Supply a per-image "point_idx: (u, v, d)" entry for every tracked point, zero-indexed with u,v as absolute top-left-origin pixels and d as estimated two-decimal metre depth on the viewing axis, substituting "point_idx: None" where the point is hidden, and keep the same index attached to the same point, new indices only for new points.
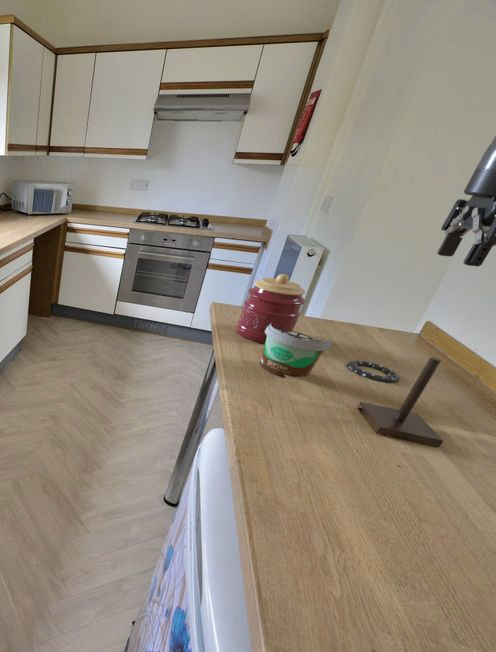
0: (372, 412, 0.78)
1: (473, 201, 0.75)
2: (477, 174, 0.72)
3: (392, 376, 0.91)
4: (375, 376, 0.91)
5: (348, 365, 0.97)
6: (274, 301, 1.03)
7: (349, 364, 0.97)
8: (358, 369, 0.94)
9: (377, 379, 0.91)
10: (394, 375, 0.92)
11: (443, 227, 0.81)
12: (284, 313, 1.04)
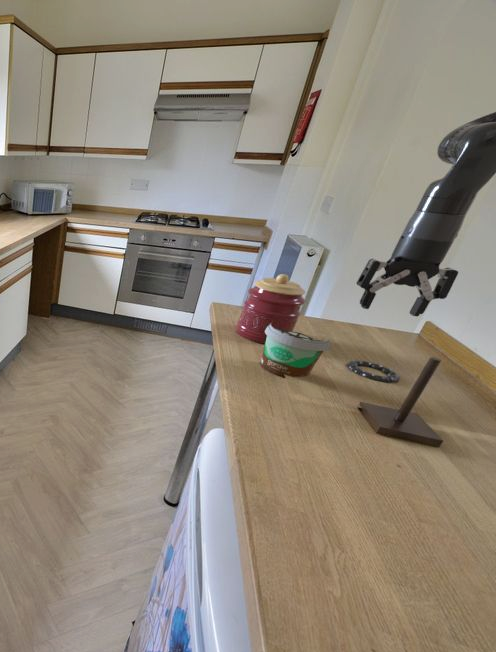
0: (372, 412, 0.78)
1: (402, 264, 0.84)
2: (436, 246, 0.79)
3: (392, 376, 0.91)
4: (375, 376, 0.91)
5: (348, 365, 0.97)
6: (274, 301, 1.03)
7: (349, 364, 0.97)
8: (358, 369, 0.94)
9: (377, 379, 0.91)
10: (394, 375, 0.92)
11: (365, 285, 0.87)
12: (284, 313, 1.04)
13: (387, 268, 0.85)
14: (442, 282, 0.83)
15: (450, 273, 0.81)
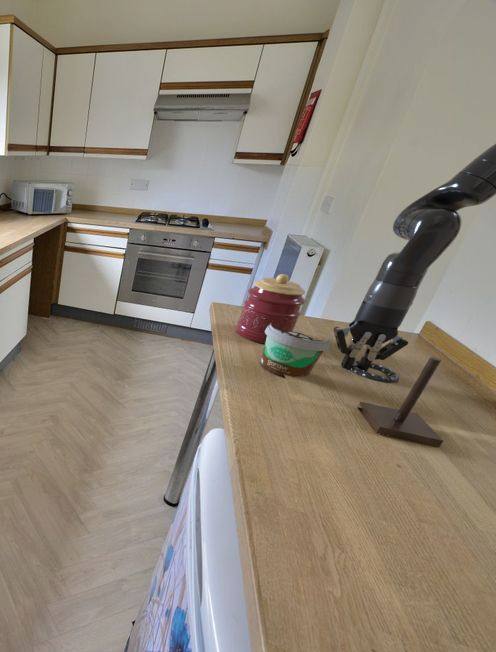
0: (372, 412, 0.78)
1: (364, 326, 0.91)
2: (393, 313, 0.86)
3: (392, 376, 0.91)
4: (375, 376, 0.91)
5: None
6: (274, 301, 1.03)
7: None
8: (358, 369, 0.94)
9: (377, 379, 0.91)
10: (394, 375, 0.92)
11: (345, 351, 0.94)
12: (284, 313, 1.04)
13: (351, 329, 0.92)
14: (390, 346, 0.91)
15: (402, 342, 0.89)
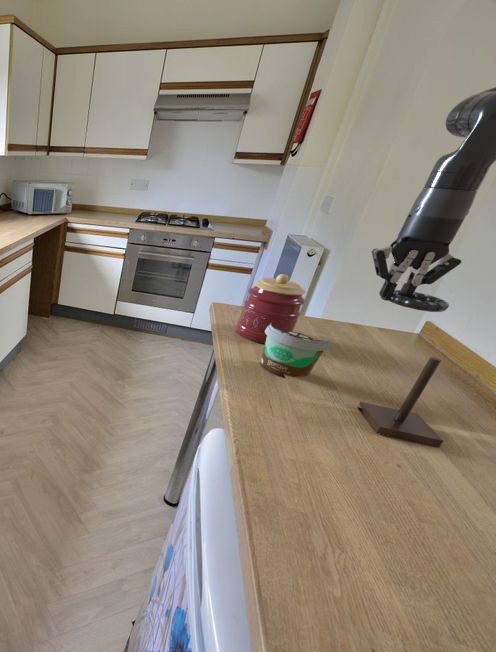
0: (372, 412, 0.78)
1: (409, 244, 0.79)
2: (446, 224, 0.74)
3: (440, 302, 0.80)
4: (421, 302, 0.80)
5: None
6: (274, 301, 1.03)
7: None
8: (400, 296, 0.82)
9: (423, 305, 0.79)
10: (442, 302, 0.80)
11: (386, 275, 0.82)
12: (284, 313, 1.04)
13: (393, 249, 0.81)
14: (439, 268, 0.79)
15: (454, 261, 0.78)
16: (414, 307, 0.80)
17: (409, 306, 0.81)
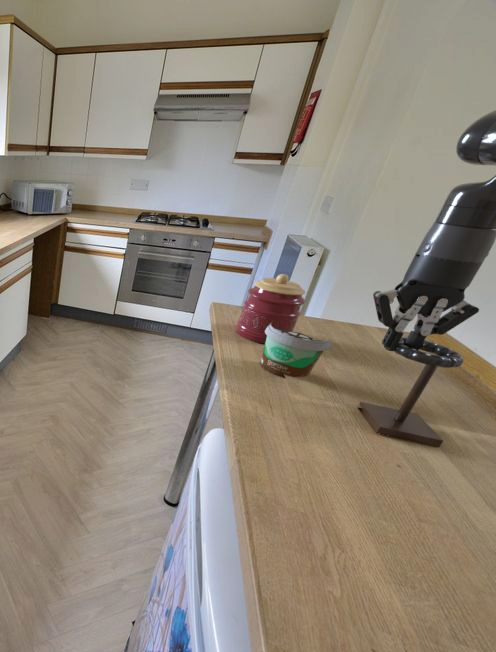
0: (372, 412, 0.78)
1: (418, 288, 0.67)
2: (462, 268, 0.62)
3: (454, 356, 0.68)
4: (431, 356, 0.68)
5: None
6: (274, 301, 1.03)
7: None
8: (407, 347, 0.70)
9: (434, 360, 0.67)
10: (456, 355, 0.68)
11: (390, 323, 0.70)
12: (284, 313, 1.04)
13: (399, 293, 0.69)
14: (452, 316, 0.68)
15: (470, 309, 0.66)
16: (423, 362, 0.68)
17: (418, 360, 0.69)
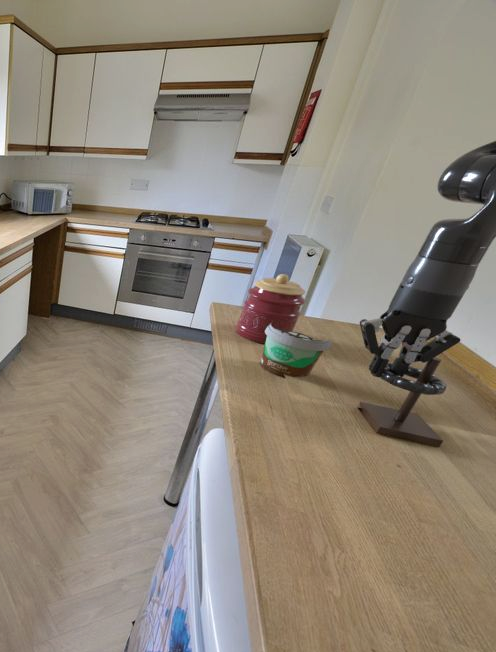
0: (372, 412, 0.78)
1: (402, 318, 0.70)
2: (443, 300, 0.65)
3: (437, 384, 0.70)
4: (415, 384, 0.70)
5: None
6: (274, 301, 1.03)
7: None
8: (392, 374, 0.72)
9: (418, 388, 0.70)
10: (439, 383, 0.70)
11: (376, 350, 0.73)
12: (284, 313, 1.04)
13: (384, 322, 0.71)
14: (435, 345, 0.70)
15: (452, 338, 0.68)
16: (408, 389, 0.71)
17: (402, 387, 0.71)
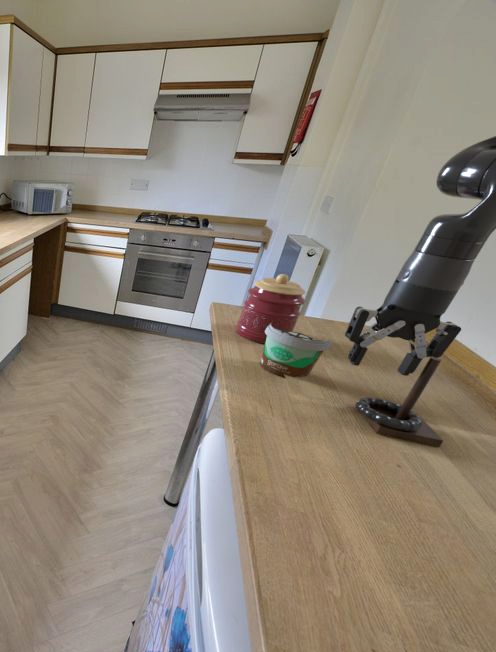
0: None
1: (396, 313, 0.70)
2: (438, 295, 0.65)
3: (413, 420, 0.73)
4: (392, 420, 0.73)
5: (358, 403, 0.78)
6: (274, 301, 1.03)
7: (359, 402, 0.78)
8: (370, 410, 0.76)
9: (394, 424, 0.73)
10: (416, 419, 0.74)
11: (355, 339, 0.73)
12: (284, 313, 1.04)
13: (378, 317, 0.71)
14: (440, 338, 0.69)
15: (452, 329, 0.68)
16: (385, 424, 0.74)
17: (380, 423, 0.74)
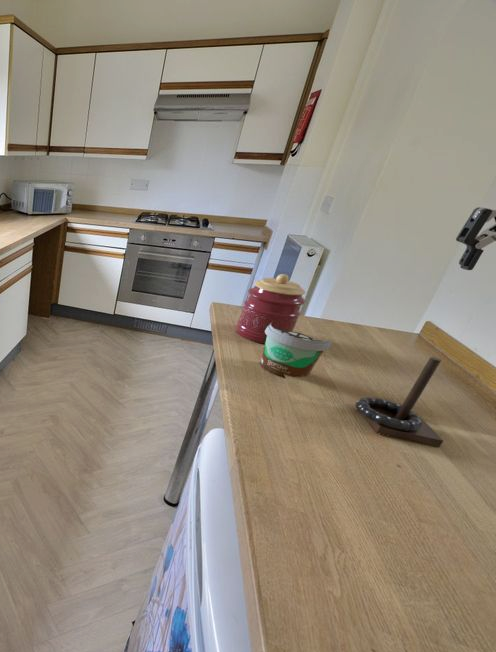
0: None
1: None
2: None
3: (413, 420, 0.73)
4: (392, 420, 0.73)
5: (358, 403, 0.78)
6: (274, 301, 1.03)
7: (359, 402, 0.78)
8: (370, 410, 0.76)
9: (394, 424, 0.73)
10: (416, 419, 0.74)
11: (470, 240, 0.71)
12: (284, 313, 1.04)
13: None
14: None
15: None
16: (385, 424, 0.74)
17: (380, 423, 0.74)
